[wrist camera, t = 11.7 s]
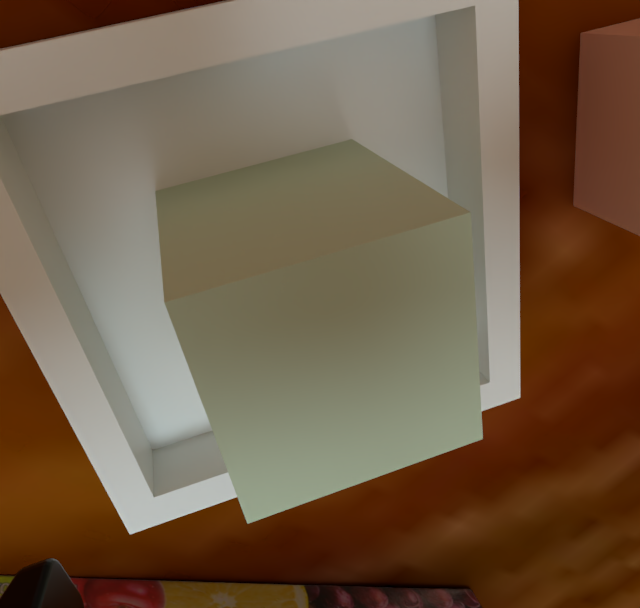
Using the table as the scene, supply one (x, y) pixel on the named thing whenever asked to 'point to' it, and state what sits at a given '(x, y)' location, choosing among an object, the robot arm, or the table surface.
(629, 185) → the terracotta block
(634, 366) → the table surface
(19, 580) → the robot arm
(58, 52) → the parts tray
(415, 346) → the sage green block
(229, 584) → the snack box
